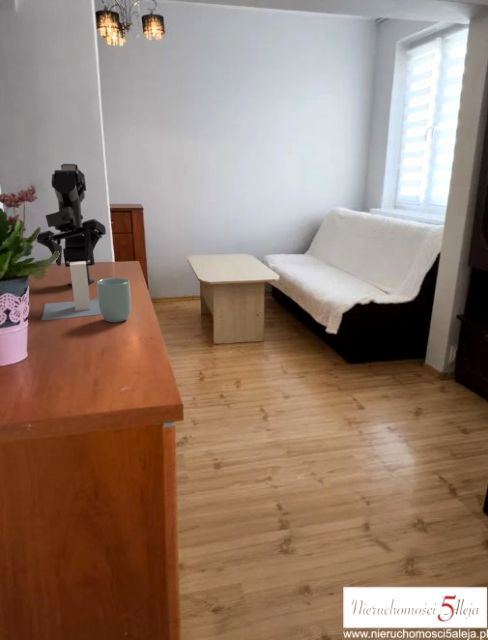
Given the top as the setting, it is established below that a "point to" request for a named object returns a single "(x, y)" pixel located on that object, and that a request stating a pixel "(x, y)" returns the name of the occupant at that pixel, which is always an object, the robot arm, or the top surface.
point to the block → (80, 285)
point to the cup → (114, 299)
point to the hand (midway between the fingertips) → (73, 262)
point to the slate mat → (69, 310)
